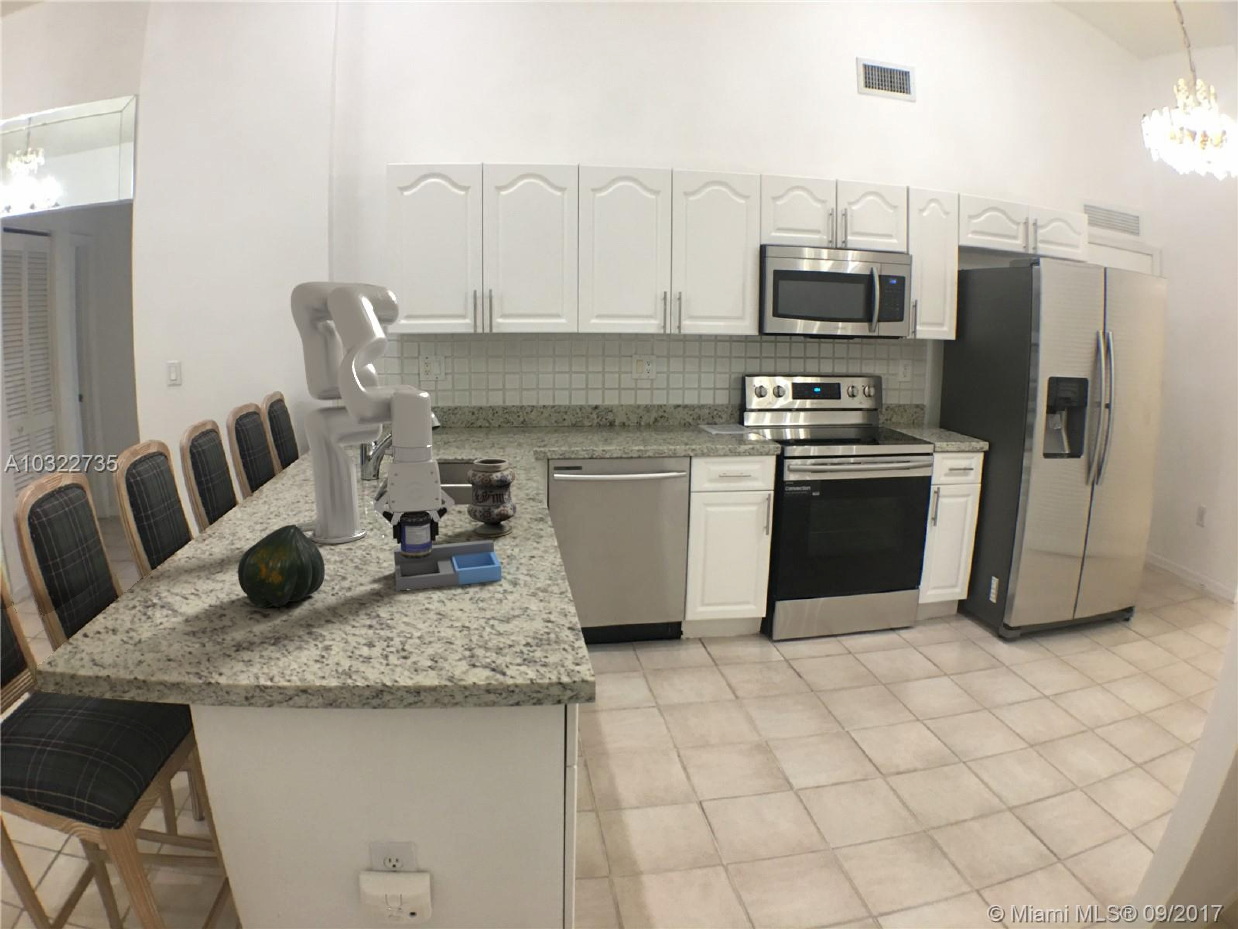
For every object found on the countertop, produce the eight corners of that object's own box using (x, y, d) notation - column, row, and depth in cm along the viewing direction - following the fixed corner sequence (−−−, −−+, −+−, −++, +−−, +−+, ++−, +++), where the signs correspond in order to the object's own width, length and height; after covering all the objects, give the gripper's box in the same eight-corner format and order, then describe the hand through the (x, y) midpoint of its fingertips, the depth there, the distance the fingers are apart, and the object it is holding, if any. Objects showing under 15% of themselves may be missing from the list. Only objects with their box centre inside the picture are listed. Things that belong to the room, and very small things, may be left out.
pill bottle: (404, 549, 146) (402, 498, 144) (434, 549, 147) (433, 498, 144) (398, 560, 140) (395, 506, 138) (429, 560, 141) (427, 506, 138)
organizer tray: (396, 591, 138) (395, 567, 137) (395, 571, 149) (393, 549, 148) (501, 580, 144) (500, 556, 143) (493, 561, 155) (492, 539, 154)
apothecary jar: (521, 525, 182) (520, 456, 178) (510, 539, 170) (508, 466, 167) (476, 523, 183) (473, 455, 179) (461, 537, 171) (458, 465, 168)
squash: (206, 586, 126) (258, 525, 124) (249, 561, 141) (296, 506, 139) (270, 636, 127) (322, 577, 126) (306, 606, 142) (353, 552, 140)
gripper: (365, 459, 132) (370, 550, 137) (459, 455, 138) (461, 543, 142) (366, 451, 139) (371, 538, 143) (455, 447, 145) (457, 531, 149)
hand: (416, 539), depth 143 cm, fingers closed on pill bottle, 6 cm apart
